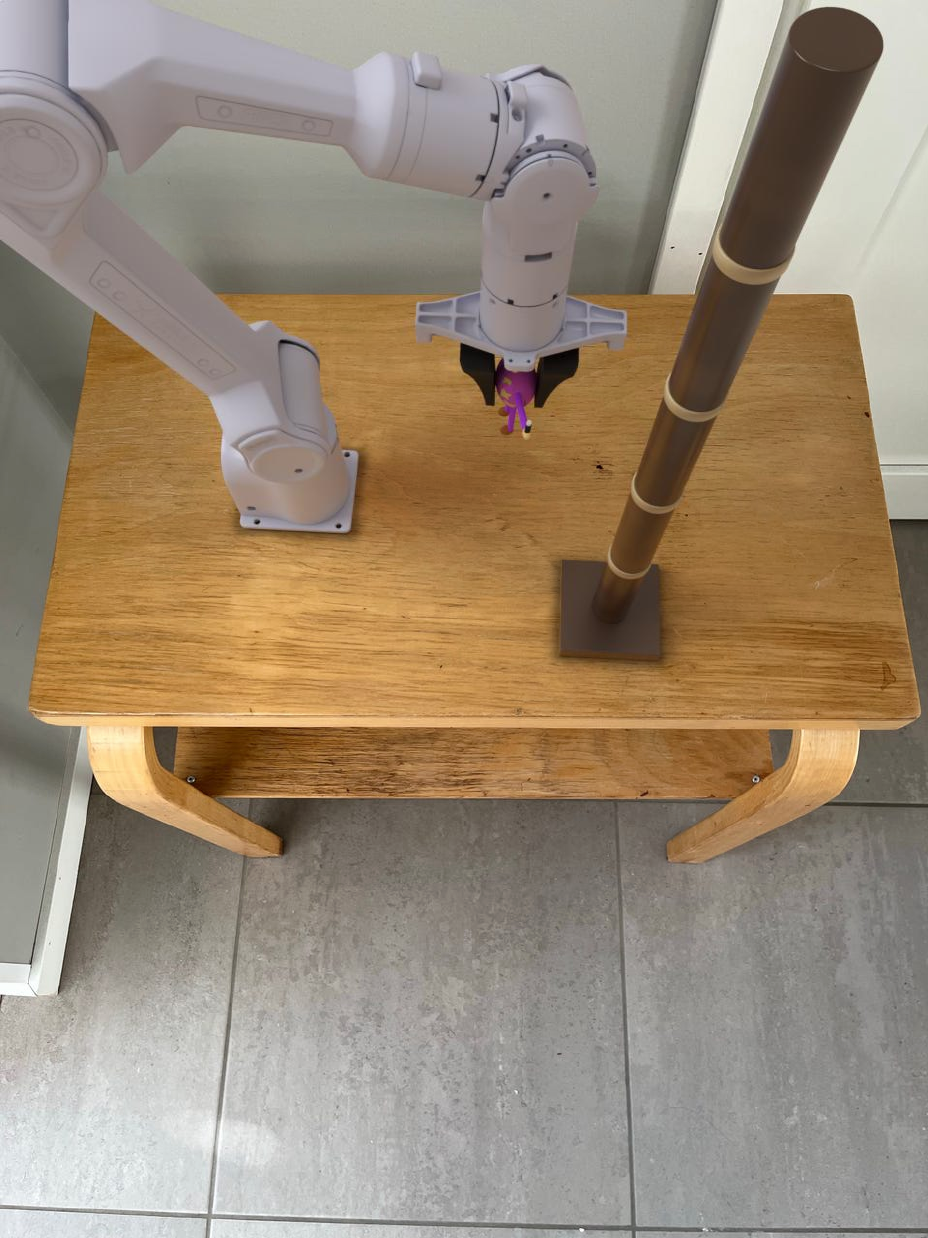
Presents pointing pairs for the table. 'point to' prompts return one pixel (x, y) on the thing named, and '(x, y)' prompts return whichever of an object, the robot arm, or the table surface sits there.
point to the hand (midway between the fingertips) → (514, 396)
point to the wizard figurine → (515, 396)
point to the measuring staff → (724, 321)
